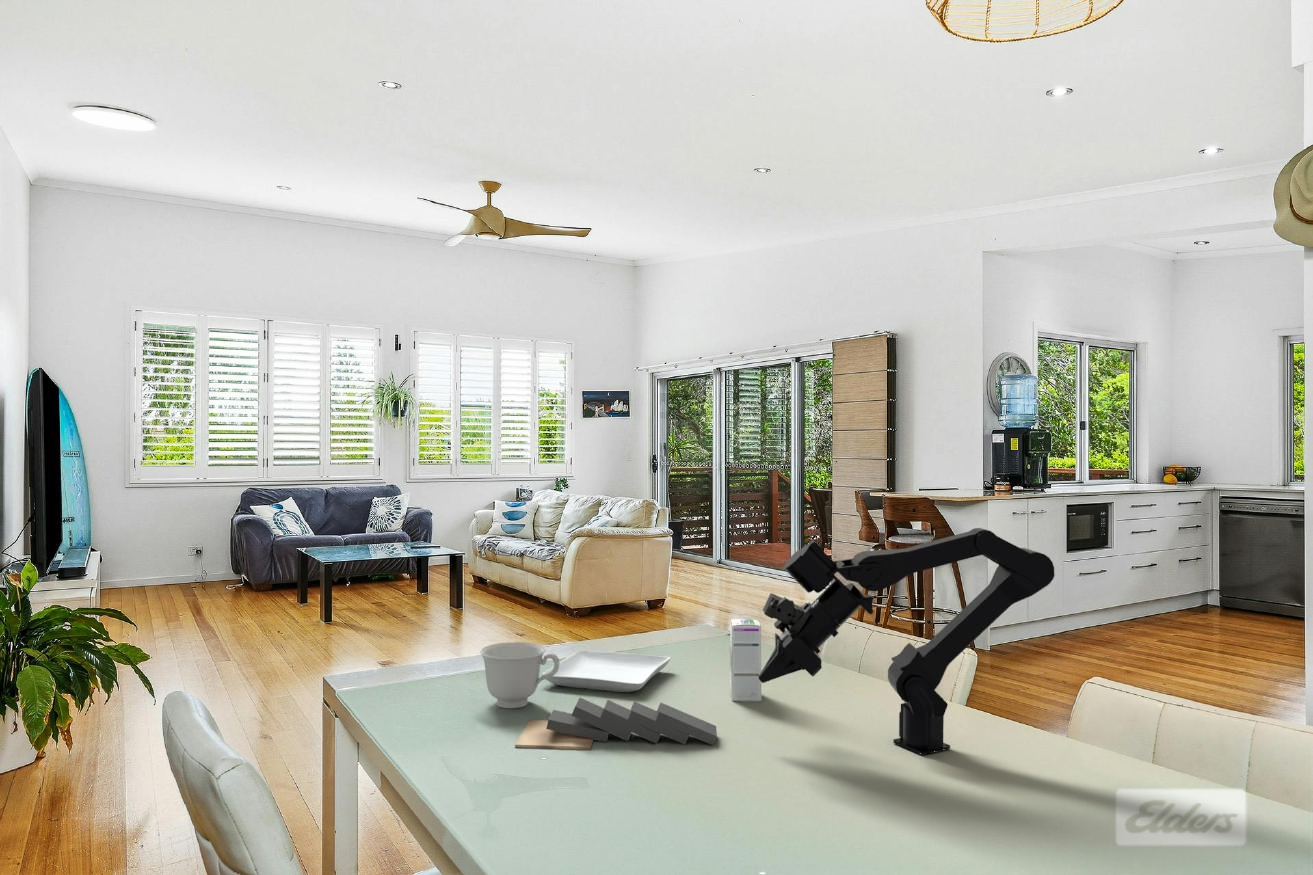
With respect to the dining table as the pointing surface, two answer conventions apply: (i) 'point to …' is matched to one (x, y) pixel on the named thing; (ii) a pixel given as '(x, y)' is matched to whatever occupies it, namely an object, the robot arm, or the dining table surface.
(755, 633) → the syrup box
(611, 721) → the domino
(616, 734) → the domino
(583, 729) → the domino
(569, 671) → the salad plate
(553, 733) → the cork mat
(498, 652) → the teacup
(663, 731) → the domino
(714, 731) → the domino
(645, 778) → the dining table surface
